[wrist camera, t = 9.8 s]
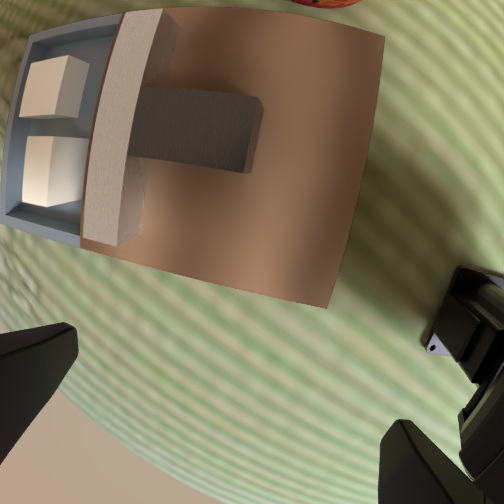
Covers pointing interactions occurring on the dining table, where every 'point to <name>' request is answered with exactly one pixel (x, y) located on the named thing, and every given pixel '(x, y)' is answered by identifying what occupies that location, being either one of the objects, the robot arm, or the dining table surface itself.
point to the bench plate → (263, 155)
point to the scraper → (156, 127)
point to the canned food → (327, 3)
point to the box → (53, 125)
